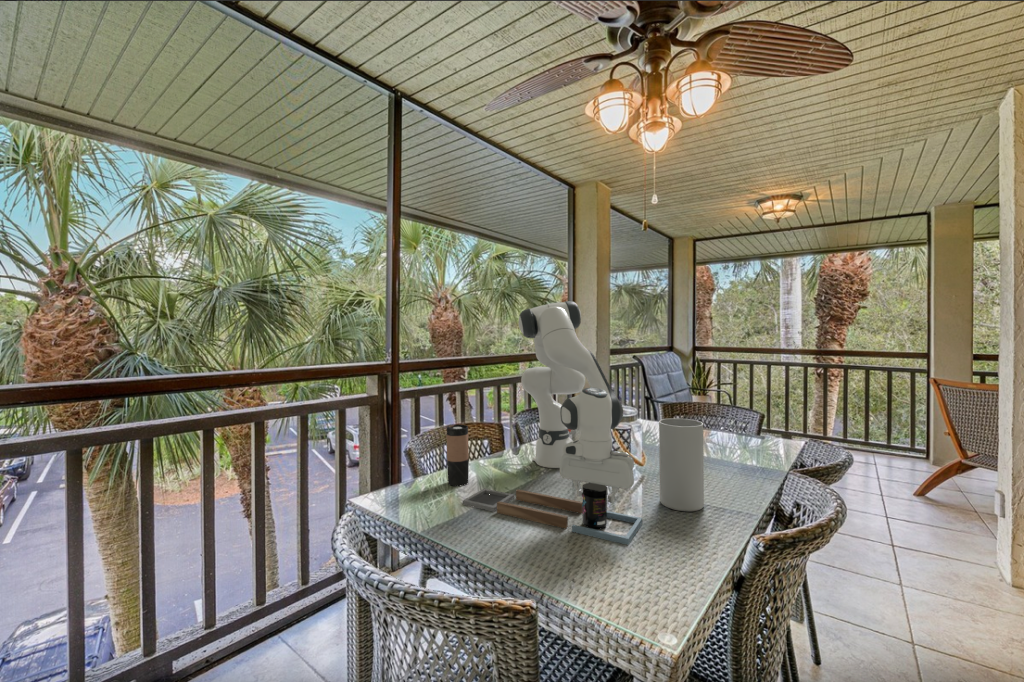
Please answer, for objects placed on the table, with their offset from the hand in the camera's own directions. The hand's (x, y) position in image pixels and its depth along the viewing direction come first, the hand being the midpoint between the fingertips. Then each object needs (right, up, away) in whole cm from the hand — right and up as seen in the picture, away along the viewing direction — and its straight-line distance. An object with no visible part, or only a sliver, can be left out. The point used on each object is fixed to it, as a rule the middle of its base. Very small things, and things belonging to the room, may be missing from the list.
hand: (595, 499), depth 119 cm
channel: (-15, -7, +9) cm, 19 cm away
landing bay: (+3, -7, -1) cm, 8 cm away
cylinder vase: (+29, -7, +14) cm, 32 cm away
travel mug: (-42, -7, +36) cm, 56 cm away
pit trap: (-30, -7, +18) cm, 36 cm away
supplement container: (0, -7, 0) cm, 7 cm away
